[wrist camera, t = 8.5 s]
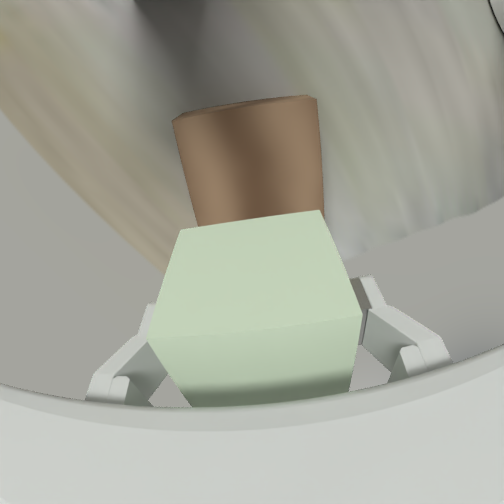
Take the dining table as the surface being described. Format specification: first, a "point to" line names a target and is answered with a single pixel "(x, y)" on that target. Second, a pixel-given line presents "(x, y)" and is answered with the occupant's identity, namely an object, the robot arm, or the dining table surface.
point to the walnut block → (252, 159)
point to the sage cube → (257, 313)
